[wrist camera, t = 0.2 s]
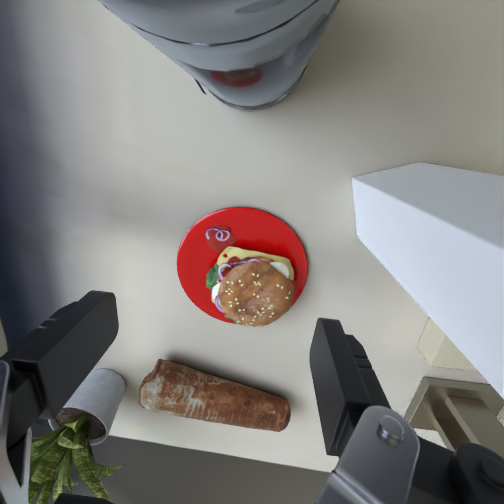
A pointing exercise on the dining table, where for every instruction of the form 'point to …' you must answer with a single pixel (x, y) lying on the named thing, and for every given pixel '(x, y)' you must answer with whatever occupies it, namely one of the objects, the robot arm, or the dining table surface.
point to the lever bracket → (458, 413)
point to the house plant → (77, 438)
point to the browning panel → (441, 349)
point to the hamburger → (242, 266)
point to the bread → (211, 398)
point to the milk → (443, 250)
